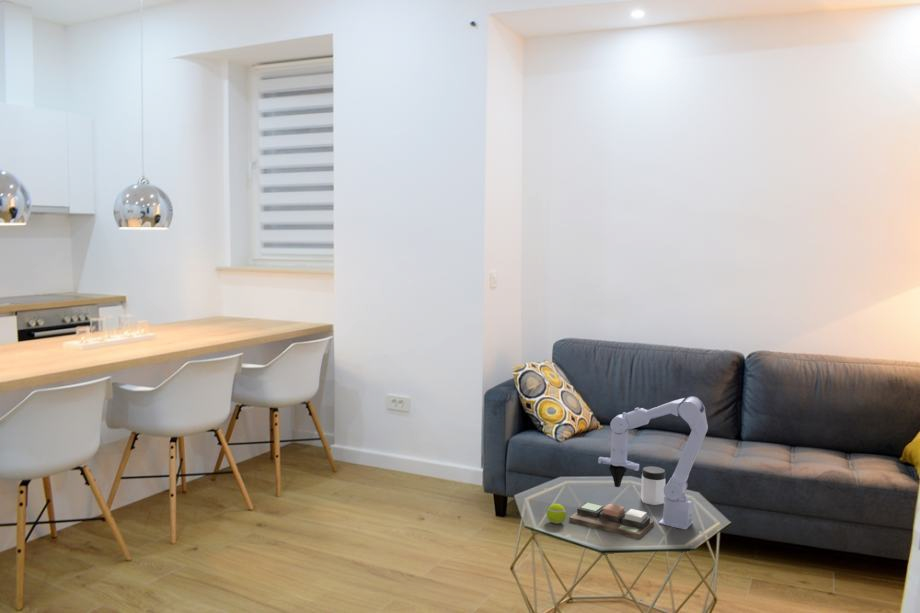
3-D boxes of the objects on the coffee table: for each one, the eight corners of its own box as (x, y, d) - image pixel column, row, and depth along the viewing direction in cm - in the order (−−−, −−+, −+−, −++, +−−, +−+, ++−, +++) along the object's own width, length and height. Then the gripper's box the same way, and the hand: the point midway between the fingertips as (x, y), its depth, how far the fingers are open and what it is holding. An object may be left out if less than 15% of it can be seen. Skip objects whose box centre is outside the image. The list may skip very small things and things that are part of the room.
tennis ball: (558, 528, 260) (559, 509, 259) (542, 523, 265) (542, 504, 264) (569, 523, 265) (570, 504, 264) (553, 517, 270) (554, 499, 269)
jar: (638, 496, 292) (640, 465, 291) (660, 497, 292) (662, 466, 290) (643, 505, 283) (645, 473, 282) (666, 506, 283) (667, 474, 282)
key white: (646, 518, 263) (646, 512, 263) (640, 523, 259) (641, 517, 258) (630, 514, 266) (631, 508, 266) (624, 519, 262) (625, 513, 261)
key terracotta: (624, 512, 268) (624, 507, 267) (618, 517, 263) (618, 512, 263) (608, 509, 271) (608, 503, 270) (602, 514, 266) (602, 508, 266)
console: (653, 525, 265) (654, 515, 265) (639, 538, 253) (639, 529, 253) (585, 509, 278) (586, 500, 278) (569, 521, 267) (569, 512, 266)
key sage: (602, 511, 272) (602, 506, 272) (595, 516, 267) (595, 510, 267) (587, 508, 275) (587, 502, 275) (580, 512, 270) (580, 507, 270)
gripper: (595, 447, 274) (593, 485, 276) (635, 455, 266) (633, 493, 268) (603, 443, 280) (601, 479, 282) (642, 450, 272) (640, 487, 274)
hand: (617, 486), depth 275 cm, fingers closed
